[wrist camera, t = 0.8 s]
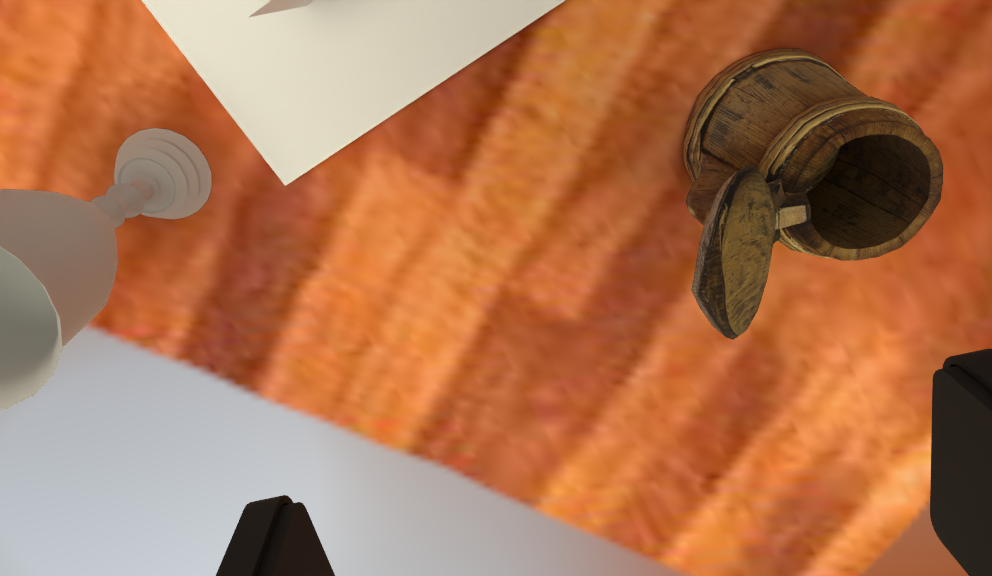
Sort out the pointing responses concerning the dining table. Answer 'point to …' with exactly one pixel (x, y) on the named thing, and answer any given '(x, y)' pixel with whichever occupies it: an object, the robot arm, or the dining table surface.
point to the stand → (330, 61)
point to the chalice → (80, 251)
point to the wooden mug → (797, 176)
